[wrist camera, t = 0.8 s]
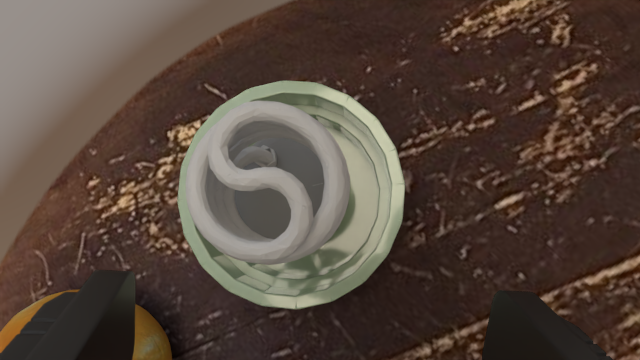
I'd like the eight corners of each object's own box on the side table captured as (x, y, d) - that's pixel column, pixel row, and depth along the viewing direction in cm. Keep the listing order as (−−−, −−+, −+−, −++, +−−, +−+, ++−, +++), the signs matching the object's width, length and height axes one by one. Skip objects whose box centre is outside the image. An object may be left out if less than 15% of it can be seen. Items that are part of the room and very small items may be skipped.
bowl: (254, 78, 29) (232, 48, 24) (425, 147, 28) (439, 131, 23) (180, 247, 28) (142, 252, 23) (351, 324, 27) (349, 347, 22)
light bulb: (227, 190, 28) (127, 166, 16) (307, 124, 28) (267, 49, 16) (293, 272, 27) (241, 311, 15) (375, 204, 27) (387, 189, 15)
